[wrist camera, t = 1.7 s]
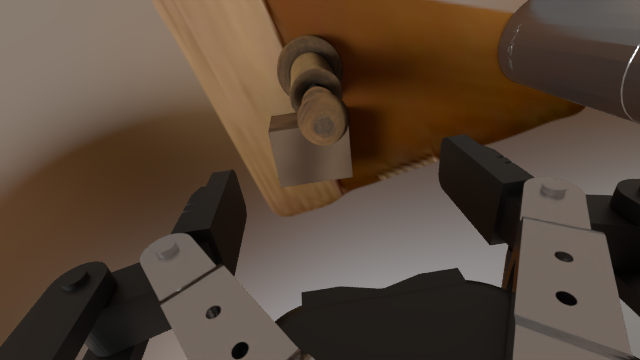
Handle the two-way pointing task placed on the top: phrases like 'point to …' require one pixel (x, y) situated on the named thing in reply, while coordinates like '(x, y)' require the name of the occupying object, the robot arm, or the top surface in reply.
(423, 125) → the top surface
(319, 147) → the walnut stand
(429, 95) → the top surface
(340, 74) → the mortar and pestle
